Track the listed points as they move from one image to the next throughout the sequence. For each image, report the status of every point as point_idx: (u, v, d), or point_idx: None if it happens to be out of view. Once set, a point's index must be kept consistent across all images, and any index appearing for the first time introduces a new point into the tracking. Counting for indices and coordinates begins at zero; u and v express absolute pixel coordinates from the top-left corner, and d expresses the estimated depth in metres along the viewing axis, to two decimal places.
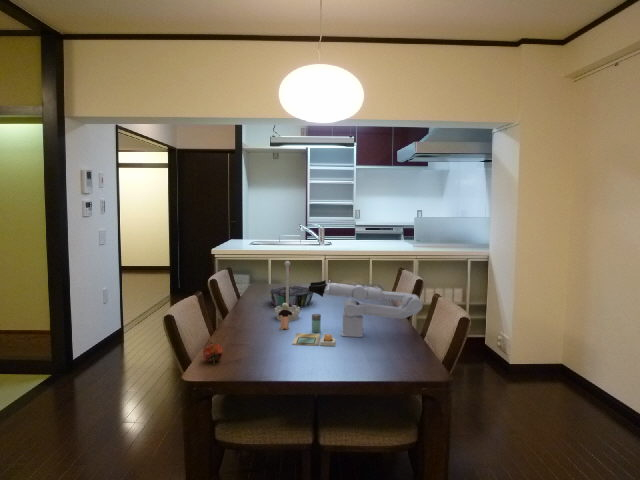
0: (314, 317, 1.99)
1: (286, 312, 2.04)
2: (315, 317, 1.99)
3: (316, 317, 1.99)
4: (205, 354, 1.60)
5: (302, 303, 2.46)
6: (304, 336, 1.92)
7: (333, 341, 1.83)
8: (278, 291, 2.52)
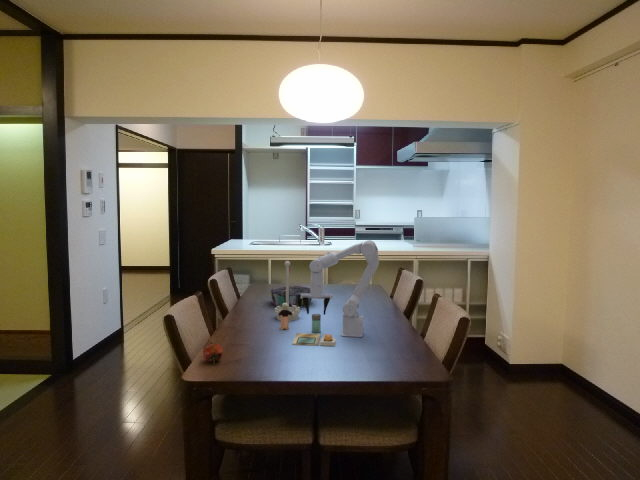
0: (314, 317, 1.99)
1: (286, 312, 2.04)
2: (315, 317, 1.99)
3: (316, 317, 1.99)
4: (205, 354, 1.60)
5: (302, 303, 2.46)
6: (304, 336, 1.92)
7: (333, 341, 1.83)
8: (278, 291, 2.53)
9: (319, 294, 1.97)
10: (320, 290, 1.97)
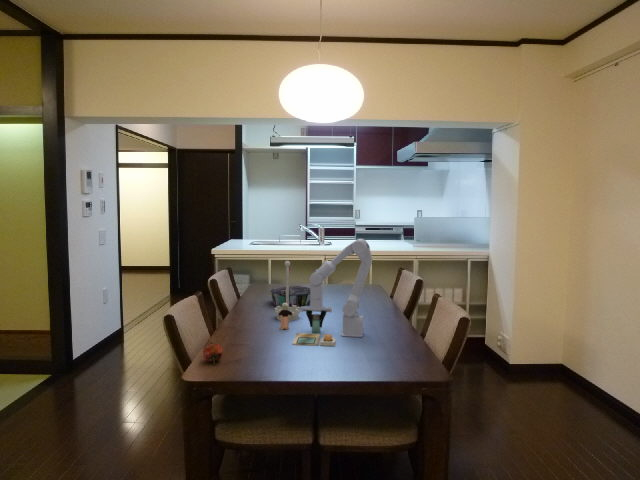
0: (314, 317, 1.99)
1: (286, 312, 2.04)
2: (315, 317, 1.99)
3: (316, 317, 1.99)
4: (205, 354, 1.60)
5: (303, 303, 2.46)
6: (304, 336, 1.92)
7: (333, 341, 1.83)
8: (279, 291, 2.53)
9: (319, 307, 1.98)
10: (320, 303, 1.98)
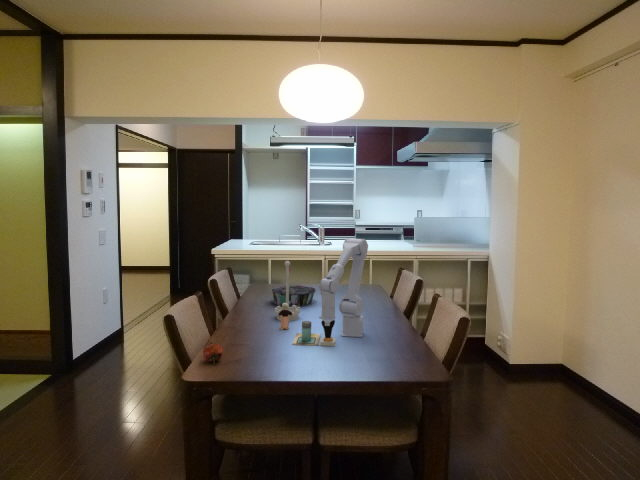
0: (305, 325, 1.84)
1: (286, 312, 2.04)
2: (306, 325, 1.84)
3: (307, 325, 1.84)
4: (205, 354, 1.60)
5: (304, 302, 2.48)
6: None
7: (333, 341, 1.83)
8: (280, 290, 2.55)
9: None
10: None
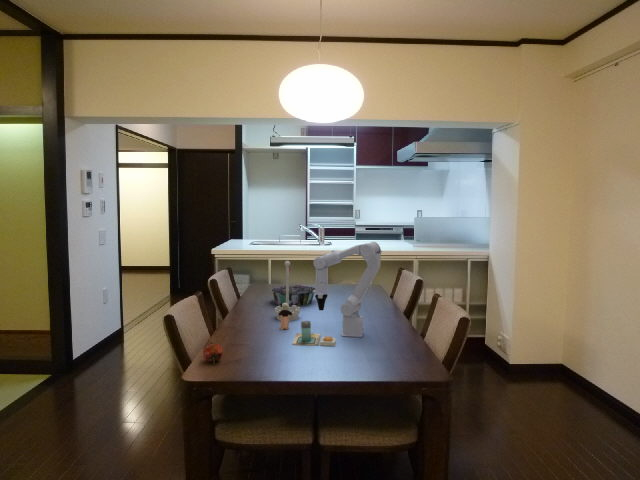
0: (304, 324, 1.84)
1: (286, 312, 2.04)
2: (305, 324, 1.84)
3: (306, 324, 1.84)
4: (205, 354, 1.60)
5: (304, 302, 2.49)
6: None
7: (333, 341, 1.83)
8: (280, 290, 2.55)
9: None
10: None
